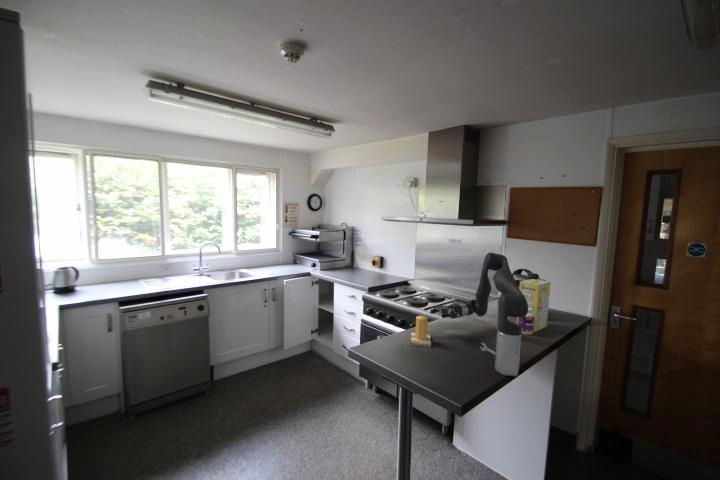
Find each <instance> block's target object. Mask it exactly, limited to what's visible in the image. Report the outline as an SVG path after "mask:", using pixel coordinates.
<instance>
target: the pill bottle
mask: <svg viewBox="0 0 720 480" xmlns="http://www.w3.org/2000/svg"><path fill="white" fill-rule="evenodd" d="M518 325H519V326H520V327H521V328H522V333H521V335H522V334H523V335H532V334H533V333H534V332H533V326H534V314H533V313H532V309H531V308H528V313H527V315H526V316H524V317H518Z"/></svg>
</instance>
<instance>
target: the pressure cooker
mask: <svg viewBox="0 0 720 480" xmlns="http://www.w3.org/2000/svg"><path fill="white" fill-rule="evenodd" d="M522 272H525V273H526V274H522ZM511 273H512V272H511ZM512 275H513V277H514V279H515V281H516V284H517V286H518V288H519V286H520V282H521V281H525V280H530V279H536V280H542V281H547V280H546V279H544V278H541V277H540V275H539V274H538V273H534V272H533V271H532V270H530V269H527V268H518V269H515V270H514V271H513V273H512ZM499 293H500V295H501V294H502V293H501V292H499ZM500 295H499V296H500Z"/></svg>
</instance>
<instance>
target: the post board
mask: <svg viewBox="0 0 720 480" xmlns="http://www.w3.org/2000/svg"><path fill="white" fill-rule="evenodd" d="M410 346H417V347H425V348H432V340H431V334H430V333H427V340H418V339H415V332H411V333H410Z"/></svg>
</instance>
